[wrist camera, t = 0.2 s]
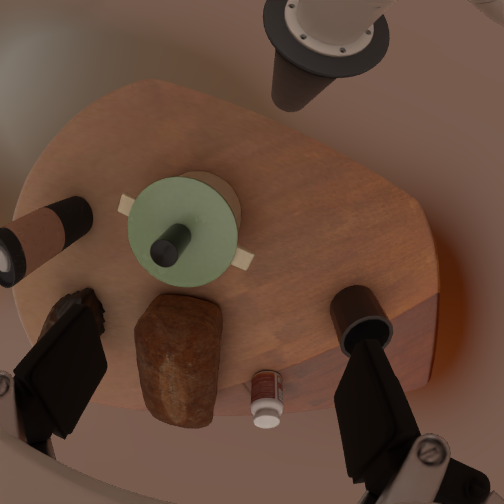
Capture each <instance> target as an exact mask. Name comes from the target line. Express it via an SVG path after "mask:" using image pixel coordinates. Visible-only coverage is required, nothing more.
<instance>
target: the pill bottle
mask: <svg viewBox="0 0 504 504" xmlns="http://www.w3.org/2000/svg"><path fill="white" fill-rule="evenodd" d="M250 409H251V412H252V414H253V415H254V424H255V425H256V426H258V427H261V428H273V427H275V426H277V425H278V424H279V422H280V415H281V414H282V412H283V388H282V378H281V376H280V375H279V374H278V373H276V372H273V371H261V372H258V373H257V374H255V375H254V377H253V379H252V390H251V408H250Z"/></svg>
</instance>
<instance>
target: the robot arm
mask: <svg viewBox="0 0 504 504" xmlns="http://www.w3.org/2000/svg"><path fill="white" fill-rule="evenodd" d="M396 1H397V0H288V2H287V4H286V7H285V22H286V26H287V28H288V30H289V32H290V33H291V34H292V36H293V37H294V38H295V39H296V40H297V41H298V42H299V43H300V44H302V45H303V46H305V47H306V48H307V49H310V50H312V51H314V52H316V53H319V54H322V55H325V56H330V57H346V56H351V55H354V54H357V53H358V52H360V51H362V50H363V49H364V48H365V47H366V46H367V45H368V44H369V43H370V41H371V39H372V37H373V32H374V27H373V23H374V22H375V21H376V20H377V19H378V18H379V17H380V16H381V15H382V14H383V13H384V12H385V11H387V9H388V8H390V7H391V6H392V5H393V4H394V3H395V2H396ZM468 1H470V2H471V3H472V4H473V5H474V6H476V7H477V8H478V9H479V10H480V11H482V12H483V13H484V14H485V15H486V16H488V17H489V18H490V19H492V20H493V21H495V22H496V23H498V24H500V25H502V26H504V0H468ZM290 7H292V8H290ZM366 33H367V34H366ZM301 38H304V40H303V39H301ZM340 51H343V53H342V52H340ZM106 371H107V361H106V357H105V354H104V351H103V347H102V343H101V340H100V336H99V332H98V328H97V324H96V320H95V316H94V313H93V311H91V309H90V307H89V306H86V305H82V304H78V303H74V304H73V305H72V306H71V307H70V308H69V309H68V310H67V311H66V312H65V313H64V314H63V315H62V316H61V317H60V318H59V319H58V320H57V321H56V322H55V324H54V325H53V326H52V327H51V328H50V329H49V330H48V331H47V332H46V333H45V334H44V335H43V337H42V338H41V339H40V340H39V341H38V342H37V343H36V344H35V345H34V347H33V348H32V349H31V350H30V351H29V352H28V354H27V355H26V356H25V357H24V358H23V359H22V361H21V362H20V363H19V364H18V365H17V367H16V368H15V369H14V370H13V372H14V374H15V376H14V377H12V376H11V374H9V373H8V372H6V371H0V504H175V503H171V502H166V501H162V500H158V499H154V498H151V497H147V496H143V495H140V494H137V493H134V492H130V491H128V490H125V489H121V488H118V487H116V486H113V485H110V484H108V483H105V482H102V481H100V480H97V479H95V478H92V477H90V476H88V475H86V474H83V473H81V472H79V471H77V470H75V469H72V468H70V467H68V466H66V465H64V464H62V463H60V462H58V461H56V458H55V454H54V450H53V446H52V442H51V438H50V437H51V435H52V433H53V434H55V435H57V436H59V437H61V438H63V439H66V437H67V435H68V434H71V433H72V432H73V429H74V428H75V426H76V424H77V422H78V420H79V418H80V416H81V415H82V413H83V411H84V409H85V408H86V406H87V404H88V402H89V400H90V399H91V397H92V395H93V393H94V392H95V390H96V388H97V386H98V385H99V383H100V381H101V379H102V378H103V376H104V374H105V373H106ZM334 403H335V408H336V413H337V417H338V423H339V428H340V434H341V439H342V445H343V450H344V456H345V462H346V468H347V473H348V476H349V477H352V478H353V483H354V484H357V483H363V482H365V487H366V492H365V493H364V495H363V496H362V498H361V499H360V500H359V502H358V503H357V504H504V499H503V498H502V497H501V496H500V495H498V494H497V493H496V492H495V491H492V492H490V482H489V479H488V478H487V476H486V475H485V474H483V473H482V472H480V471H478V470H476V469H474V468H471V467H469V466H467V465H465V464H463V463H461V462H459V461H456V460H454V459H452V458H450V455H451V452H450V447H449V445H448V443H447V442H446V441H445V439H444V438H442V437H441V436H439V435H436V434H432V433H431V434H424V435H421V434H420V431H419V428H418V426H417V423H416V421H415V418H414V416H413V413H412V411H411V408H410V406H409V404H408V401H407V399H406V396H405V394H404V392H403V389H402V387H401V385H400V383H399V380H398V378H397V377H396V376H395V374H394V372H393V370H392V368H391V365H390V363H389V361H388V359H387V357H386V355H385V352H384V350H383V348H382V346H381V344H380V342H379V340H377V339H363V340H361V341H360V343H357V344H356V345H355V347H354V349H353V352H352V354H351V357H350V359H349V362H348V364H347V367H346V369H345V371H344V374H343V376H342V378H341V381H340V383H339V385H338V388H337V390H336V392H335V396H334Z"/></svg>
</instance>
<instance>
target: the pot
mask: <svg viewBox="0 0 504 504" xmlns="http://www.w3.org/2000/svg"><path fill="white" fill-rule="evenodd" d="M180 176H184V177H191V178H195V179H198V180H200V181H203V182H205V183H207V184H209V185H210V186H212V187H213V188H214V189H216V190H217V191H218V192H219V193H220V194H221V195H222V196H223V197H224V198H225V200H226V201H227V202H228V204H229V205H230V207H231V209H232V211H233V213H234V215H235V219H236V222H237V227H238V231H239V228H240V224H241V206H240V203H239V199H238V197H237V195H236V193H235V191H234V190H233V188H232V187H231V186H230V185H229V184H228V183H227V182H226V181H225V180H223V179H222V178H221V177H219V176H217V175H215V174H212V173H209V172H203V171H190V172H187V173H185V174H182V175H180ZM136 198H137V197H134V196H132V195H130V194H128V193H124V194H122V197H121V200H120V204H119V207H118V212H120V213H122V214H125V215H127V216H129V213H130V210H131V207H132V205H133V203H134V201H135V199H136ZM254 255H255V252H253V251H251V250H249V249H247V248H245V247H243V246H240V245H237V249H236V253H235V255H234V258H233V260H232V262H231V264H232V265H234V266H236V267H238V268H241V269H243V270H245V271H246V270H247V269H248V267H249V265H250V263H251V261H252V259H253V257H254Z"/></svg>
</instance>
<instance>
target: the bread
mask: <svg viewBox="0 0 504 504" xmlns="http://www.w3.org/2000/svg"><path fill="white" fill-rule="evenodd" d="M221 333H222V313H221V311H220V309H219V307H218V306H216V305H214V304H212V303H210V302H207V301H204V300H200V299H196V298H192V297H187V296H179V295H167V294H166V295H159V296H158V297H157V298H155V299H154V300H153V301H152V303H151V304H150V305H149V307H148V308H147V309H146V311H145V313H144V314H143V315H142V316H141V318H140V319H139V320H138V322H137V324H136V326H135V328H134V334H135V346H136V353H137V366H138V370H139V377H140V384H141V388H142V392H143V398H144V401H145V404H146V407H147V408H148V410H149V411H150V413H151V414H152V415H153V416H154V417H155V418H156V419H158V420H160V421H162V422H165V423H167V424H170V425H174V426H179V427H183V428H202V427H205V426H208V425H209V424H210V423H211V422H212V419H213V409H214V404H215V400H216V395H217V379H218V369H219V357H220V340H221Z"/></svg>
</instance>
